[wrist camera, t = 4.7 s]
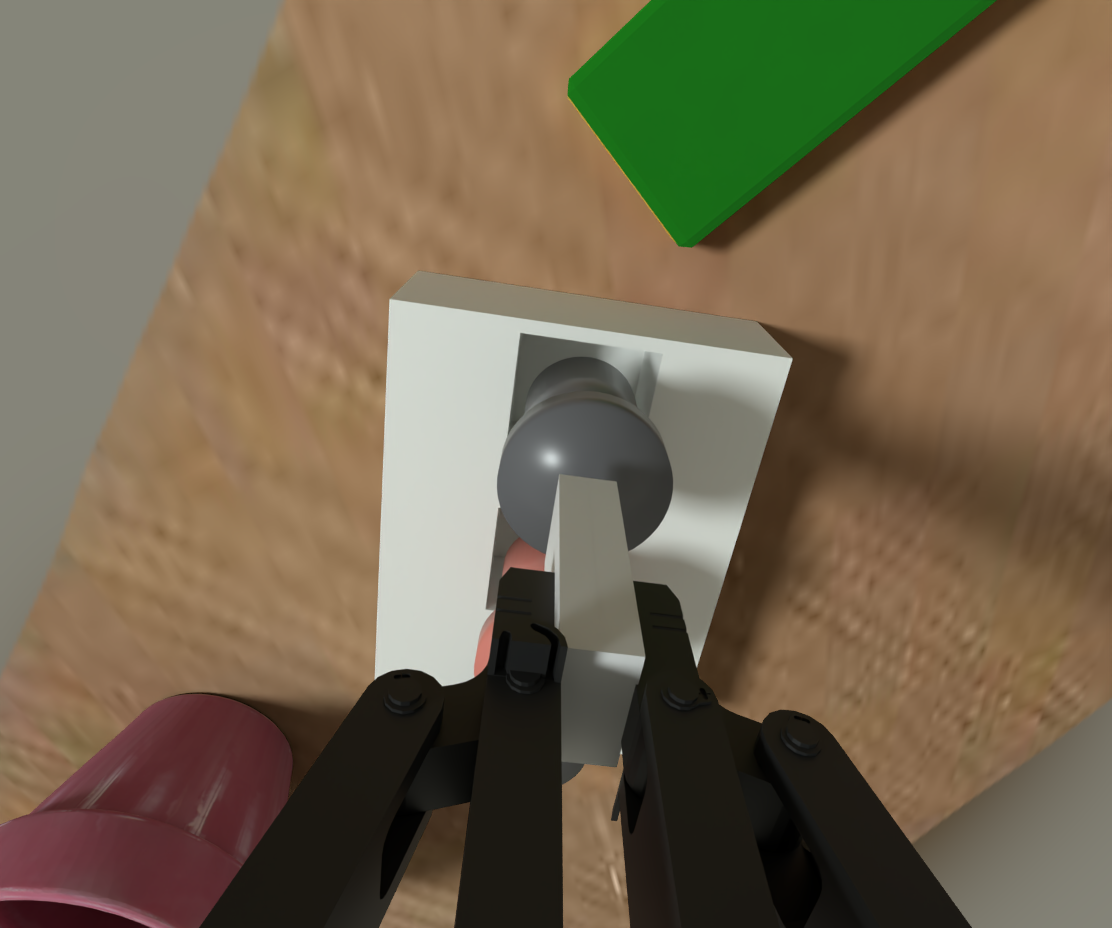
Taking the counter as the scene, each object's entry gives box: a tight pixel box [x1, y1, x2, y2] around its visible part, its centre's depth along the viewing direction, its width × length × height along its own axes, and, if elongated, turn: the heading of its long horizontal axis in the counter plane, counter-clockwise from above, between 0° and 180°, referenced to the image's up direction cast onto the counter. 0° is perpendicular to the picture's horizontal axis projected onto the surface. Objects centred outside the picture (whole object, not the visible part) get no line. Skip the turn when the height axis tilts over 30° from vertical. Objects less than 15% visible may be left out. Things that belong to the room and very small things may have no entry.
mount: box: [375, 271, 793, 754], centre depth 30 cm, size 14×20×5 cm
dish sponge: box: [568, 0, 997, 247], centre depth 23 cm, size 7×14×2 cm, turn 130°
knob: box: [497, 357, 673, 554], centre depth 22 cm, size 5×5×6 cm
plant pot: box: [0, 694, 293, 928], centre depth 34 cm, size 14×14×13 cm
